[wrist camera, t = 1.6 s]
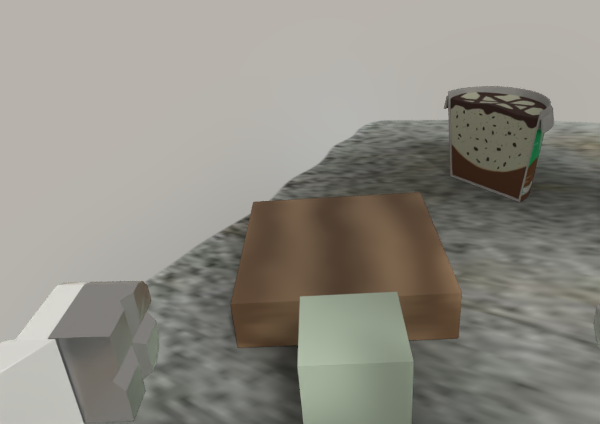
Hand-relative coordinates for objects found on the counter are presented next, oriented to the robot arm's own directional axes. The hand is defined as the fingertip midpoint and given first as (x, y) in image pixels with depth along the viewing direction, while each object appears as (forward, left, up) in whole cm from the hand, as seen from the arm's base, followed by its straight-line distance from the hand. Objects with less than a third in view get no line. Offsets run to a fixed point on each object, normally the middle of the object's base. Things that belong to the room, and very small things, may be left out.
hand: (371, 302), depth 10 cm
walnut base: (0, -30, -20) cm, 36 cm away
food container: (-19, -48, -21) cm, 56 cm away
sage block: (0, -12, -21) cm, 24 cm away
